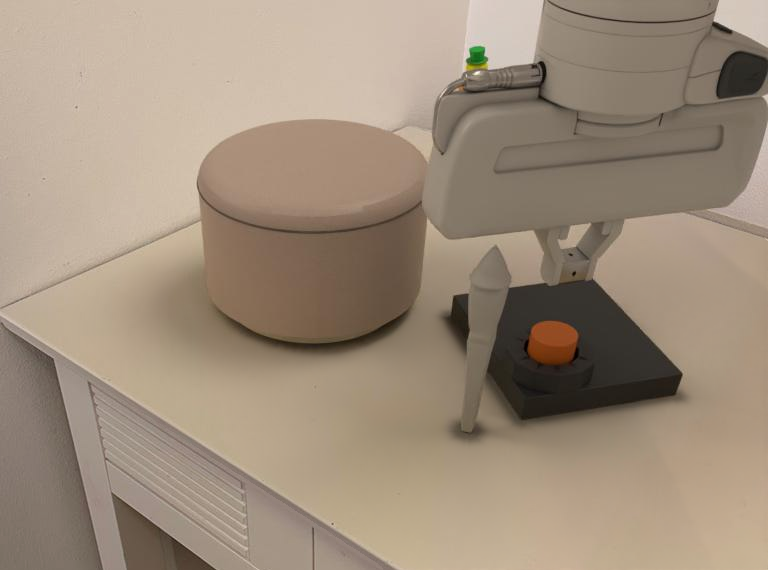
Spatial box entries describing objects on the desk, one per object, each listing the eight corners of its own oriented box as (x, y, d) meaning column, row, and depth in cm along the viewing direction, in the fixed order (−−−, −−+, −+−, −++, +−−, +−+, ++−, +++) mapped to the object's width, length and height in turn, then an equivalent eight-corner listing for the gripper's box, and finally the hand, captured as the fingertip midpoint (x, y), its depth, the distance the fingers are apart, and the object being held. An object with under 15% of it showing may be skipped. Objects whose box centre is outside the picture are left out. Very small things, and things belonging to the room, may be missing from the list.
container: (462, 287, 75) (480, 151, 67) (325, 383, 66) (327, 237, 58) (304, 224, 84) (303, 97, 76) (162, 299, 75) (145, 163, 67)
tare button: (561, 338, 64) (565, 317, 63) (581, 363, 62) (586, 342, 61) (519, 344, 64) (523, 323, 62) (538, 370, 61) (543, 348, 60)
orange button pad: (586, 296, 74) (595, 258, 72) (676, 395, 64) (690, 355, 62) (449, 315, 72) (454, 277, 70) (520, 420, 62) (528, 380, 60)
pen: (445, 436, 61) (469, 252, 51) (453, 413, 63) (478, 231, 53) (481, 444, 60) (513, 259, 51) (488, 421, 62) (520, 237, 53)
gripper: (459, 92, 45) (431, 324, 54) (812, 60, 48) (729, 284, 58) (418, 54, 50) (399, 274, 59) (744, 26, 53) (677, 239, 62)
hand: (565, 279), depth 58 cm, fingers closed
